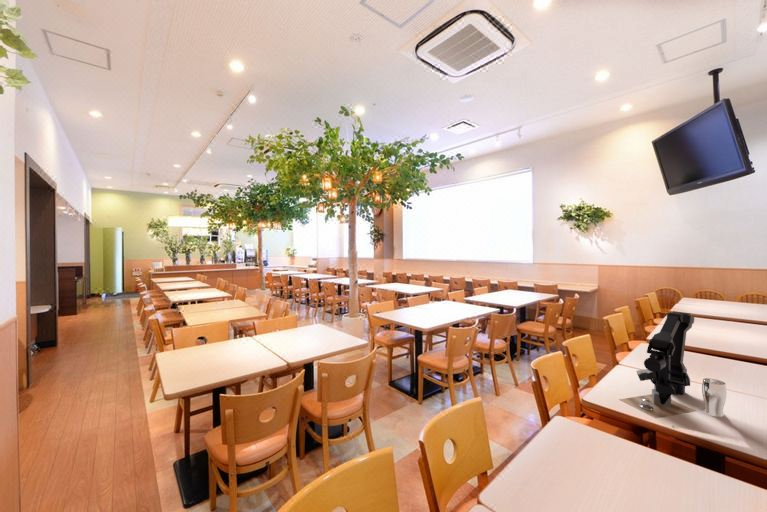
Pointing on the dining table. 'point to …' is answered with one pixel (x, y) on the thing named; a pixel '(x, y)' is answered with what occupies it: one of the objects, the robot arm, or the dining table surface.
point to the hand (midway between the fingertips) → (661, 401)
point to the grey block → (657, 400)
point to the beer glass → (714, 396)
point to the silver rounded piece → (645, 404)
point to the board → (658, 407)
